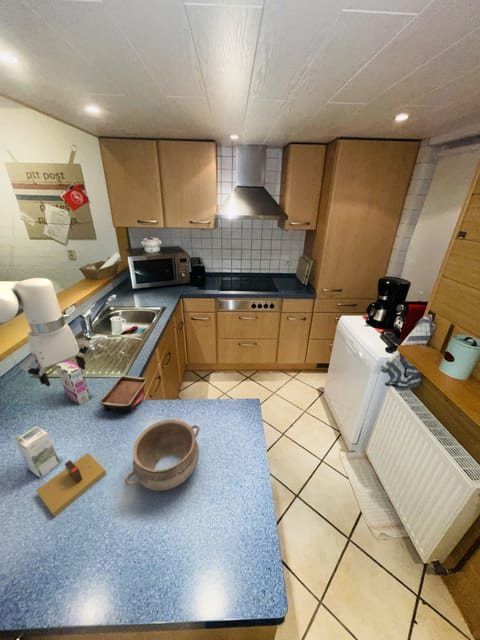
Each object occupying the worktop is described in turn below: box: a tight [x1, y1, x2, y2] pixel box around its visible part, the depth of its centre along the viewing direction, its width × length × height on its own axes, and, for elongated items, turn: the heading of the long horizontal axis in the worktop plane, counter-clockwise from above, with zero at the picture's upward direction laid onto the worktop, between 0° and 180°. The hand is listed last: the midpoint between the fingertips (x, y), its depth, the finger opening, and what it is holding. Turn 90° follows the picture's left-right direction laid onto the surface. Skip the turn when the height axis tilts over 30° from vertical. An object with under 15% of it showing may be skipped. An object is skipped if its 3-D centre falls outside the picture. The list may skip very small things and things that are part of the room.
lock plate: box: [36, 452, 107, 518], centre depth 73 cm, size 14×10×3 cm
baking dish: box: [99, 375, 147, 414], centre depth 102 cm, size 14×18×10 cm
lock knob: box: [64, 460, 82, 484], centre depth 72 cm, size 5×2×5 cm, turn 56°
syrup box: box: [14, 425, 60, 478], centre depth 75 cm, size 6×6×14 cm
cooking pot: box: [124, 419, 201, 492], centre depth 75 cm, size 25×19×12 cm
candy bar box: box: [55, 359, 91, 405], centre depth 103 cm, size 11×5×16 cm, turn 56°
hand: (65, 375), depth 75 cm, fingers open, 9 cm apart
